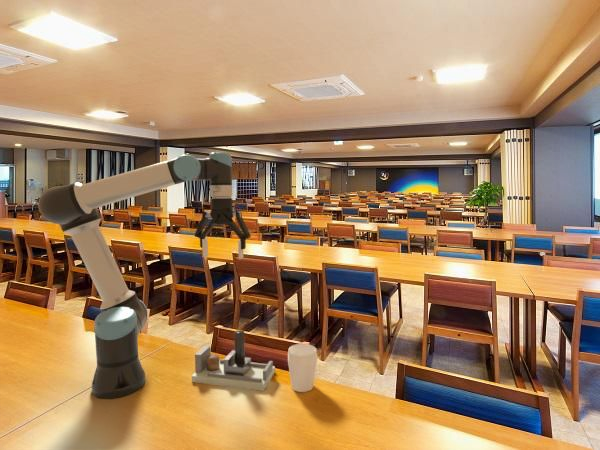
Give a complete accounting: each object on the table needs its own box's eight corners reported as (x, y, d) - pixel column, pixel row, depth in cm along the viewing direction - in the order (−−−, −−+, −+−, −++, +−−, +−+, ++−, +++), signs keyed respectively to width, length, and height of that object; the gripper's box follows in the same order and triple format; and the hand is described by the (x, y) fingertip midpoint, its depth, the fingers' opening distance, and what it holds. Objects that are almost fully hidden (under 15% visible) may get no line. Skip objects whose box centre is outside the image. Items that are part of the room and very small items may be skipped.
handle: (223, 374, 120) (222, 335, 119) (232, 364, 127) (231, 327, 126) (243, 376, 119) (242, 337, 117) (251, 366, 126) (250, 328, 124)
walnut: (204, 370, 123) (204, 359, 123) (210, 365, 127) (210, 353, 127) (216, 372, 122) (215, 360, 122) (221, 366, 126) (221, 354, 126)
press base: (191, 381, 120) (190, 357, 119) (209, 364, 132) (208, 342, 131) (263, 390, 115) (263, 365, 114) (274, 371, 127) (274, 349, 126)
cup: (314, 396, 112) (314, 357, 111) (284, 392, 114) (284, 354, 113) (318, 380, 121) (319, 344, 120) (291, 378, 123) (291, 342, 121)
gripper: (183, 197, 131) (185, 258, 133) (251, 198, 125) (252, 261, 128) (194, 197, 138) (196, 254, 141) (259, 197, 133) (259, 256, 135)
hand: (223, 257), depth 134 cm, fingers open, 13 cm apart
